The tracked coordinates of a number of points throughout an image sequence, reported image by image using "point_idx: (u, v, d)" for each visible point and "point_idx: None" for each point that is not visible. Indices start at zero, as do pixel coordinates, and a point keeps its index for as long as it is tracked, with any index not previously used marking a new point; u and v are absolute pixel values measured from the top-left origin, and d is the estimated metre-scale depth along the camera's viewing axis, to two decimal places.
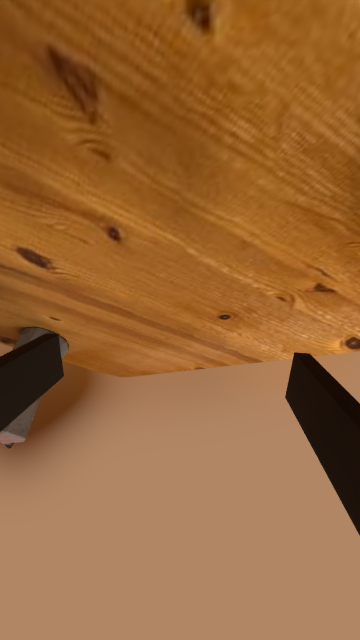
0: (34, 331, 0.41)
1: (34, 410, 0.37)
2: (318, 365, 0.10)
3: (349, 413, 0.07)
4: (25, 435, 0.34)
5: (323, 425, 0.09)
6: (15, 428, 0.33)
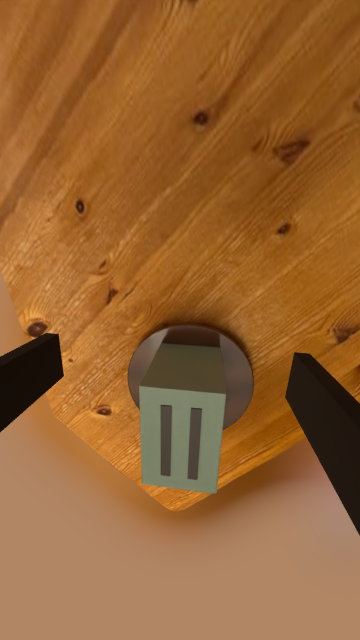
0: None
1: None
2: (318, 365, 0.10)
3: (349, 413, 0.07)
4: None
5: (323, 425, 0.09)
6: None
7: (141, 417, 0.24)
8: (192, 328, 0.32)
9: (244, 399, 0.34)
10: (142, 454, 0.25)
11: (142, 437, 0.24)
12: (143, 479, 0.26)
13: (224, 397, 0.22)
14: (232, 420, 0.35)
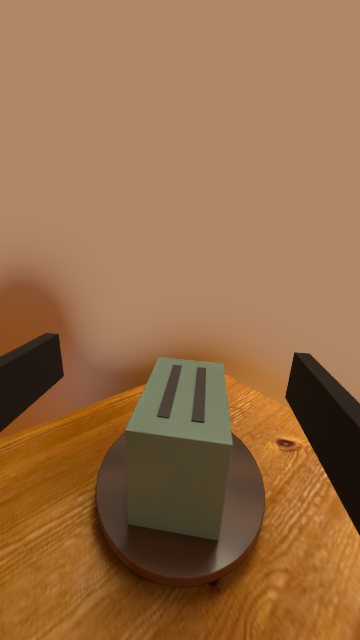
0: None
1: None
2: (318, 365, 0.10)
3: (349, 413, 0.07)
4: None
5: (323, 425, 0.09)
6: None
7: (227, 411, 0.21)
8: (164, 568, 0.19)
9: (118, 447, 0.30)
10: (224, 382, 0.25)
11: (224, 394, 0.23)
12: (222, 366, 0.29)
13: (127, 426, 0.18)
14: None
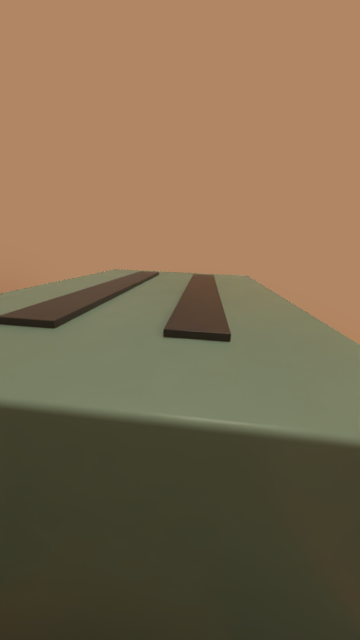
0: None
1: None
2: None
3: None
4: None
5: None
6: None
7: (312, 318, 0.05)
8: None
9: None
10: (262, 286, 0.10)
11: (277, 296, 0.08)
12: (247, 277, 0.13)
13: None
14: None
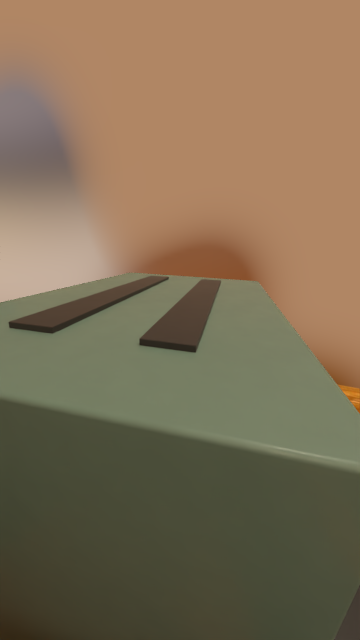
0: None
1: None
2: None
3: None
4: None
5: None
6: None
7: (291, 332, 0.05)
8: None
9: None
10: (264, 294, 0.10)
11: (272, 306, 0.08)
12: (256, 282, 0.13)
13: None
14: None
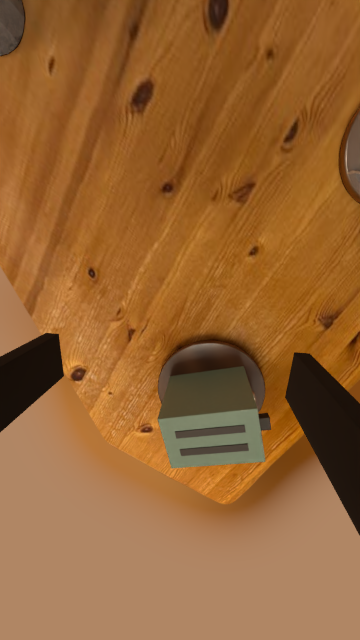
0: (19, 10, 0.29)
1: None
2: (318, 365, 0.10)
3: (349, 413, 0.07)
4: None
5: (324, 425, 0.09)
6: None
7: (196, 465, 0.32)
8: (161, 397, 0.42)
9: (210, 348, 0.38)
10: (232, 463, 0.31)
11: (215, 464, 0.32)
12: (259, 461, 0.31)
13: (160, 419, 0.30)
14: (235, 352, 0.38)
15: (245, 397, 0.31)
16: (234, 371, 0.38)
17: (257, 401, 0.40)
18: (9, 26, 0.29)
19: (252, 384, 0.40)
